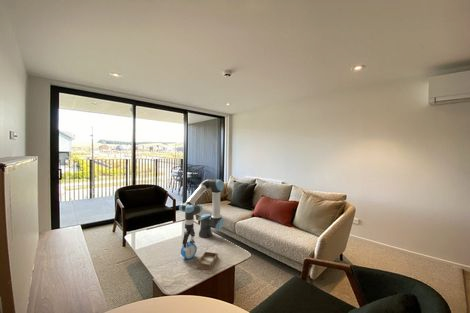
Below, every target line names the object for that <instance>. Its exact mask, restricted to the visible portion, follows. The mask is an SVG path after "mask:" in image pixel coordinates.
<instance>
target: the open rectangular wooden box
mask: <svg viewBox="0 0 470 313" xmlns="http://www.w3.org/2000/svg"><path fill="white" fill-rule="evenodd" d="M218 255H219V253H217V252H210V251H209V252H208V251H204V253H203V254H202V255H201V257H200V258H199V259H198V261H197V262H196V268H197V269H200V270H208V271H211V270H212V269H213V267H214V265H215V263H216V262H217V260H218V258H219V256H218Z"/></svg>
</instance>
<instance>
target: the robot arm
mask: <svg viewBox="0 0 470 313" xmlns="http://www.w3.org/2000/svg"><path fill="white" fill-rule="evenodd" d="M224 188H225V183H224V182H223V180H222V179H218V178H217V179H216V178H206V179H205V180H203V181H202V182H201V183H200V184H199V185H198V187H197V188H196V190H194V192H193V193H192V194H191V195H190V196H189V197H188V199H187V200H186V201H184V202H182V203H180V204H179V206H178V209H179V211H180V212H183V213H185V214H184V229H185V230H186V231H184V234H183V238H182V243H181V244H182V245H183V244H184V251H187V242H188V240H189V237H190V240H194V241H195V239H194V237H195V235H196V232H195V228H194V223H195V215H198V214H201V213H202V212H203V206H202V205H201V204H197V205H195V204H196V202H197V201H198V199H199V198H200V197H201V196H202V195H203V193H204V192H206V191H207V190H210V193H211V194H212V196H211V197H212V198H211V199H212V201H211V202H212V203H211V204H212V208H211V209H212V212H211V214H210V213H205V214H202V215H201V216H200V220H199V221H200V229H199V232H198V237H200V238H204V239H205V238H211V237H212V236H213V230H212V229H216V230H220V229H222V227H223V226H224V222H225V220H224V218H223V217H222V214H221V193H222V192H223V190H224ZM193 244H194V243H193Z"/></svg>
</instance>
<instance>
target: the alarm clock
mask: <svg viewBox="0 0 470 313" xmlns="http://www.w3.org/2000/svg"><path fill="white" fill-rule="evenodd" d="M193 243H194V244H193ZM197 249H198V248H197V245H196V241H195V239H194V240H191V239H190V240H189V241H187V251H184V244H182V247H181V249H180V255H181V256H182V257H183V258H184V259H186V261H187V260H191V259H193V258H195V257H194V256H195V255H196V253H197Z"/></svg>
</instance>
